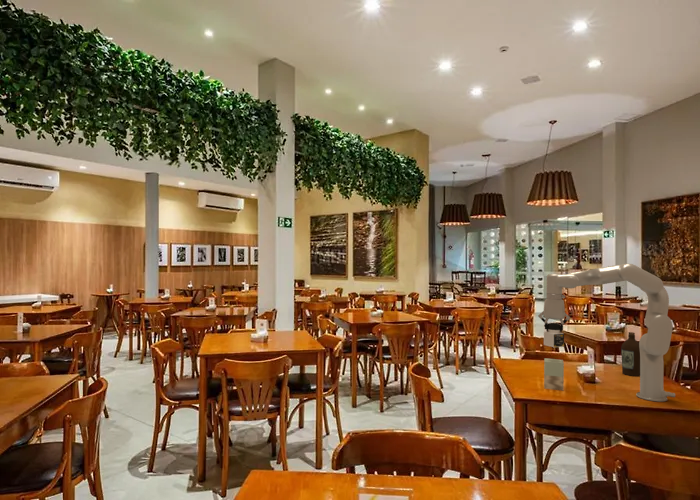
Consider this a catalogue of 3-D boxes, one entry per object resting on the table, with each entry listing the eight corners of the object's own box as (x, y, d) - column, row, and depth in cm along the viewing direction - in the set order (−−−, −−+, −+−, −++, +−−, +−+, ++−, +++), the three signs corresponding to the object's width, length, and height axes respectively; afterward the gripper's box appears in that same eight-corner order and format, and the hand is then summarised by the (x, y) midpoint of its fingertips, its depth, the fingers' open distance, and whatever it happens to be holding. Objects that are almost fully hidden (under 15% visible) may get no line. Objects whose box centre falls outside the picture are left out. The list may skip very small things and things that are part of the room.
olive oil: (628, 371, 276) (628, 330, 276) (646, 375, 266) (646, 333, 267) (617, 373, 271) (617, 331, 272) (634, 377, 261) (635, 334, 262)
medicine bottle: (554, 347, 233) (554, 324, 234) (543, 345, 240) (543, 322, 240) (564, 346, 236) (564, 323, 236) (553, 344, 243) (553, 322, 243)
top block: (562, 373, 240) (562, 359, 240) (563, 377, 232) (563, 363, 232) (544, 371, 243) (544, 358, 244) (544, 375, 235) (544, 361, 235)
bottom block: (562, 386, 240) (562, 373, 240) (563, 390, 232) (563, 377, 232) (544, 384, 243) (544, 371, 243) (544, 388, 235) (544, 375, 235)
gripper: (571, 297, 239) (571, 331, 238) (536, 295, 245) (536, 329, 245) (572, 298, 232) (572, 333, 231) (536, 296, 238) (536, 331, 238)
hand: (553, 330), depth 238 cm, fingers closed on medicine bottle, 6 cm apart
